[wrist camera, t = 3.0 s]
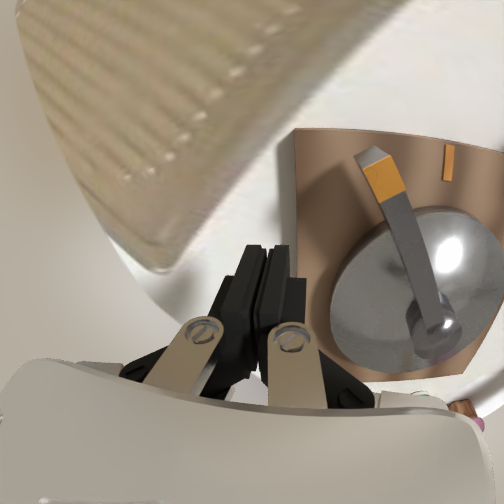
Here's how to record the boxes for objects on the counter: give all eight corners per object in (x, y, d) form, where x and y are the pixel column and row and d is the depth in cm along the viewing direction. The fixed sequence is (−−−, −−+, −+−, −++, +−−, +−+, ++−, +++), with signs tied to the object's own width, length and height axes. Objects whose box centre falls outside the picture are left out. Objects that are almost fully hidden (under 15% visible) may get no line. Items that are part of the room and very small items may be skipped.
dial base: (529, 160, 14) (542, 167, 13) (459, 362, 28) (462, 374, 26) (295, 128, 20) (293, 130, 18) (295, 368, 33) (293, 381, 31)
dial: (499, 317, 21) (517, 353, 16) (365, 376, 29) (367, 417, 24) (455, 98, 13) (498, 102, 8) (252, 204, 21) (233, 239, 16)
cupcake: (484, 390, 31) (495, 435, 22) (460, 414, 35) (467, 455, 27) (450, 394, 32) (459, 445, 24) (426, 418, 36) (431, 463, 28)
